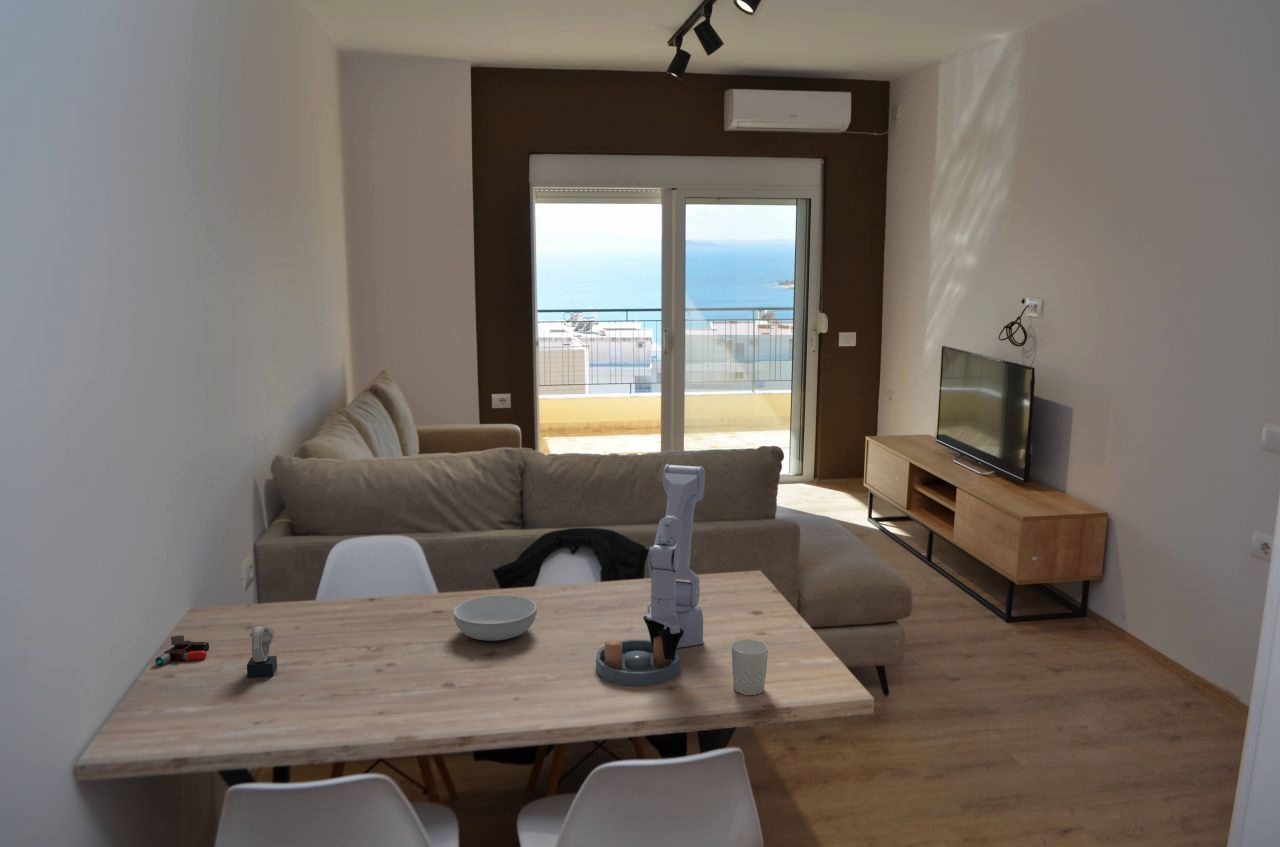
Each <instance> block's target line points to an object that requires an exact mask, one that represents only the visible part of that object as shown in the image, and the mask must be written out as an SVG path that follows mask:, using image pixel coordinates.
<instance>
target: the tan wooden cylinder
mask: <svg viewBox="0 0 1280 847" xmlns="http://www.w3.org/2000/svg"><path fill="white" fill-rule="evenodd" d="M621 641H622V640H619V639H608V640H605V642H604V646H605V665H607V666H609V667H611V668H614V669H617V670H621V669H622V642H621Z"/></svg>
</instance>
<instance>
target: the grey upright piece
mask: <svg viewBox="0 0 1280 847" xmlns="http://www.w3.org/2000/svg"><path fill="white" fill-rule="evenodd" d="M248 636H249V637H250V638H251V657H250V659H249V660H248V661H247V664H246V673H247V676H246V677H247V678H248V679H252V678H253V679H254V678H267V677H268V678H271V677H274V675H275V674H276V672H277V670H278V659H277V658H278V656H277V655H270V651H271V650H270V649H271V648H270V647H271V645H272V642H273V639H274V636H275V629H273V628H272V627H271V626H269V625H264V624H263V625H262V624H261V625H256V626H254V627H253V628H252V629H251V633H249V635H248Z"/></svg>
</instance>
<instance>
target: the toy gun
mask: <svg viewBox="0 0 1280 847" xmlns="http://www.w3.org/2000/svg"><path fill="white" fill-rule="evenodd" d="M170 642H171V643H170V644H171V646H172V647H170V648H168V649H167V650H165V651H164V652H163V653H162V654H160V655H158V656H157V657H156V658H155V659H154V661H155V662H154V663H155V665H156V666H160V665H161V666H162V667H164V666H166V665H167V664H169V663H170V662H178V663H179V662H180V663H184V662H185V661H186V660H188V661H201V660H205V659H206V658H207V657H208V653H207V651H208V650H209V649H210V644H209V643H210V642H208V641H191V640H185V635H184V634H180V635H178V634H177V635H171V636H170Z"/></svg>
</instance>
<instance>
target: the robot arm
mask: <svg viewBox="0 0 1280 847" xmlns="http://www.w3.org/2000/svg"><path fill="white" fill-rule="evenodd" d="M661 477H662V478H661V479H662V486H663V489H664V493H665V494H666V496H667V500H666V501H667V502H666V509H665V515H664V516H665V517H662V518H661V519H660V520H659V522H658V526H657V531H656V534H655V539H654V544H653V545H652V546H650V547H649V550H648V555H647V567H648V571H649V573H648V576H649V577H650V603H648V604H647V613H648V614H646V615H644V616H643V617H642V618H643V620H644V622H645V625H646V628H647V631H648V634H649V639H650V641H651V644H652V646H653V644H654V638H655V637H658V636H660V637H661V640H662V644H663V653H664V657H665V659H673V658H674V656H675V653H676V651H677V649H678V648H679V649H680V648H685V647H692V646H693V647H694V646H698V645H704V644H705V641H704V615H703V611H702V609H701V607H700V605H699V603H700V602H699V601H700V595H701V594H700V593H701V592H700V589H701V588H700V577H699V576H698V574H696V573H695V571H693V570H692V569H691V567H690V566H691V564H690V563H691V554H692V538H693V528H694V527H693V526H694V517H695V516H694V514H695V509H696V505H697V502H700V501H702V500H703V498H704V495H705V487H706V470H705V468H704V466H703V465H696V466H694V465H680V464H679V465H678V464H670V463H667V464H665V465H664V467H663V470H662V476H661ZM682 580H684V581H682Z"/></svg>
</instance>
